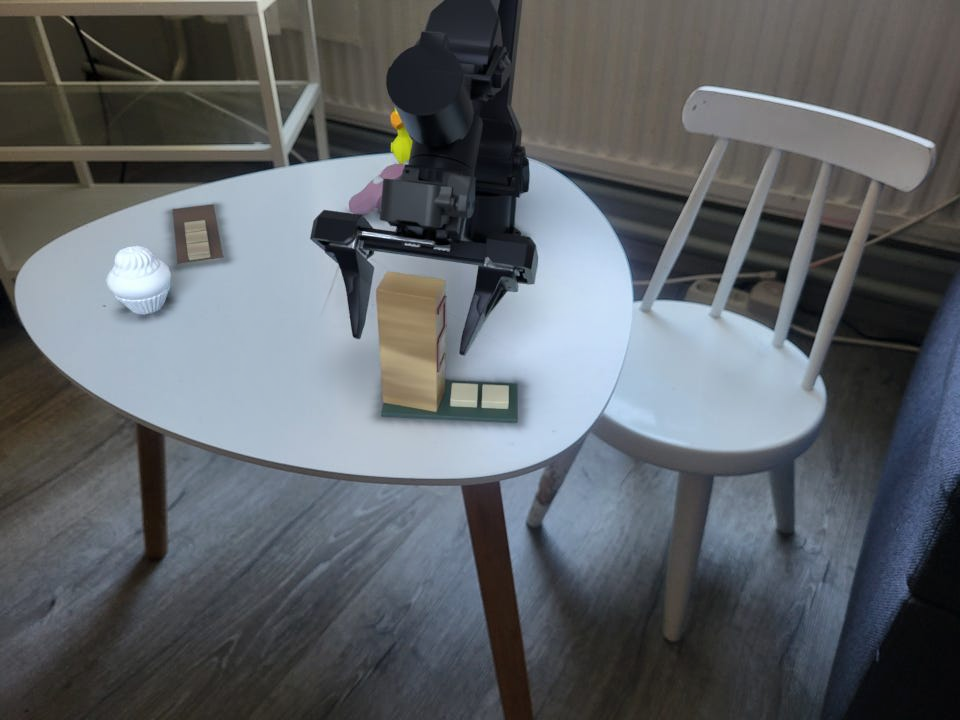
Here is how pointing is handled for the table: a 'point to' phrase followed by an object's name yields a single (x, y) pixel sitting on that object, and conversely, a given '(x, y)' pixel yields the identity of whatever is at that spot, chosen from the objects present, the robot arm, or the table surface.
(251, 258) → the table surface
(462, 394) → the dark green board
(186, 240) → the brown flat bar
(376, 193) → the pink toy car
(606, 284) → the table surface
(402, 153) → the toy figure
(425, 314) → the wooden block
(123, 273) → the muffin
